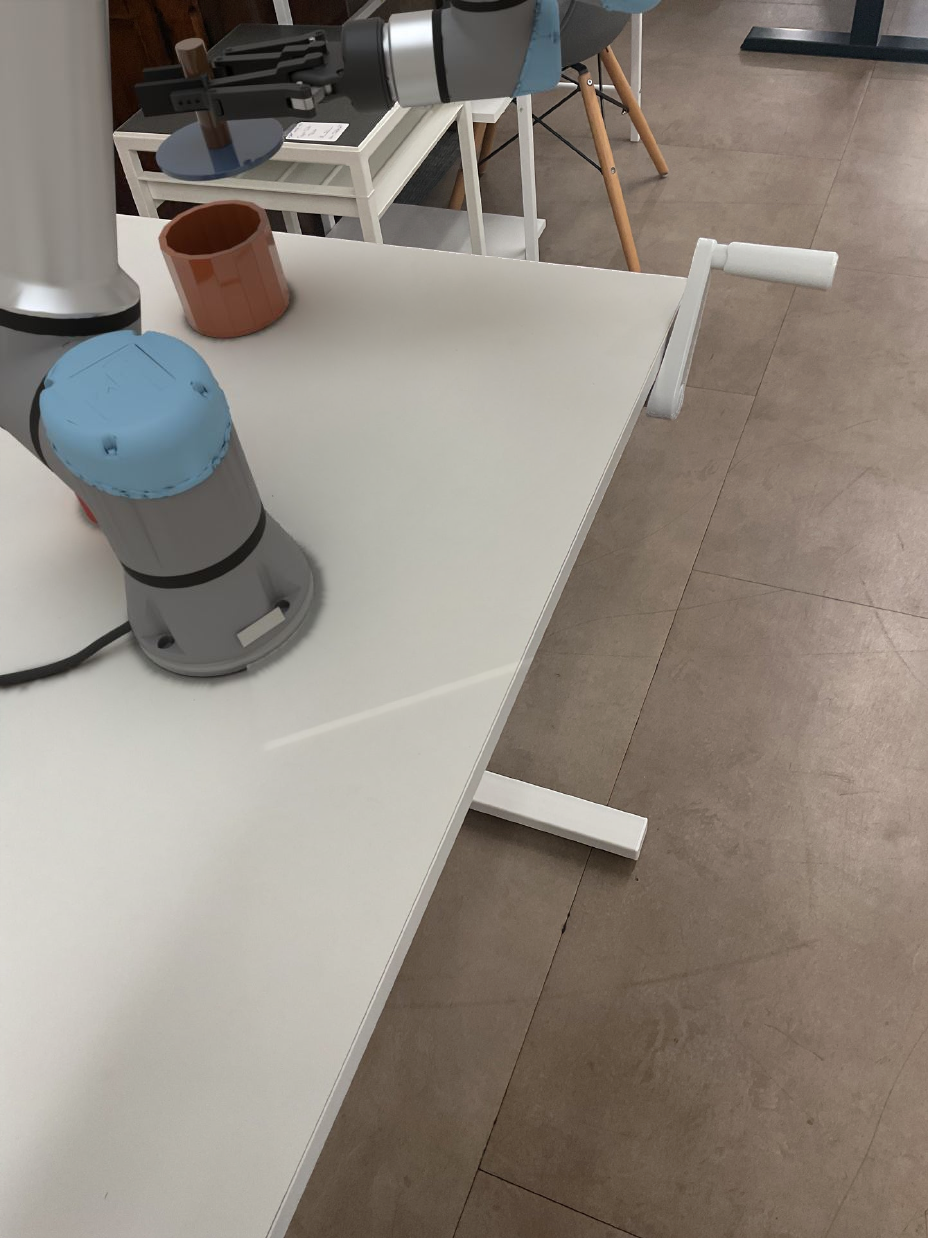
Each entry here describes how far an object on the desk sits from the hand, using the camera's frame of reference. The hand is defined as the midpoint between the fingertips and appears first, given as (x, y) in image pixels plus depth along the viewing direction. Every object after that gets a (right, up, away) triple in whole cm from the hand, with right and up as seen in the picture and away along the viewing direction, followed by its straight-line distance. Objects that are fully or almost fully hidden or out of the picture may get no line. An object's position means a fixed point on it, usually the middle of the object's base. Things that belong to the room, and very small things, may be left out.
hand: (144, 92), depth 94 cm
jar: (+5, -14, +19) cm, 24 cm away
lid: (+6, -3, +4) cm, 8 cm away
